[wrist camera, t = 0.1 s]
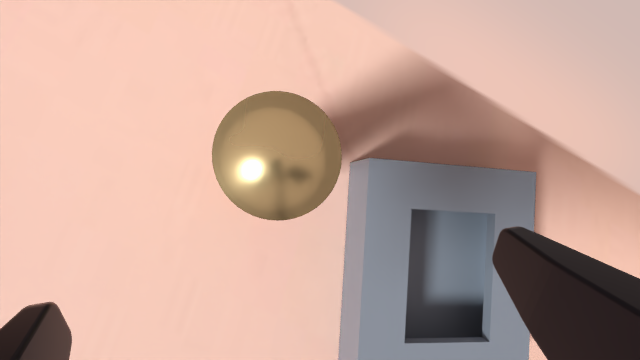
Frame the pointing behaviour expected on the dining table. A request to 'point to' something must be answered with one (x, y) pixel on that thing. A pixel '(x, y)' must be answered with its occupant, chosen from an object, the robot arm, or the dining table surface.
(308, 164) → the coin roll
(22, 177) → the dining table surface
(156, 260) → the dining table surface
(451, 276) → the grey socket block
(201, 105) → the dining table surface
